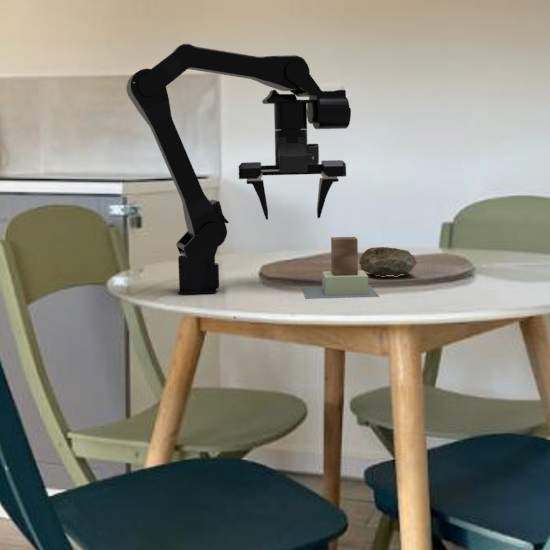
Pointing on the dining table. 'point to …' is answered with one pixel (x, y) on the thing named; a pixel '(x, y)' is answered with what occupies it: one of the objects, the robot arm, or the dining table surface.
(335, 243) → the walnut block
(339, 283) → the base block
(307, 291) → the build mat
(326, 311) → the dining table surface
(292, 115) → the robot arm
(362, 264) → the stone
